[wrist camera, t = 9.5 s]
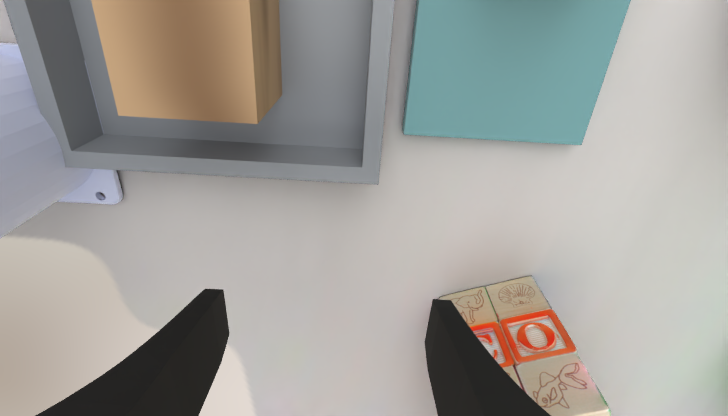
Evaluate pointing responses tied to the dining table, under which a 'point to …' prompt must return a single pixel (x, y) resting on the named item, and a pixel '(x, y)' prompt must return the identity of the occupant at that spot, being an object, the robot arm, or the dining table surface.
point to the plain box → (192, 57)
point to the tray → (222, 139)
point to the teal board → (509, 68)
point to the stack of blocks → (531, 346)
